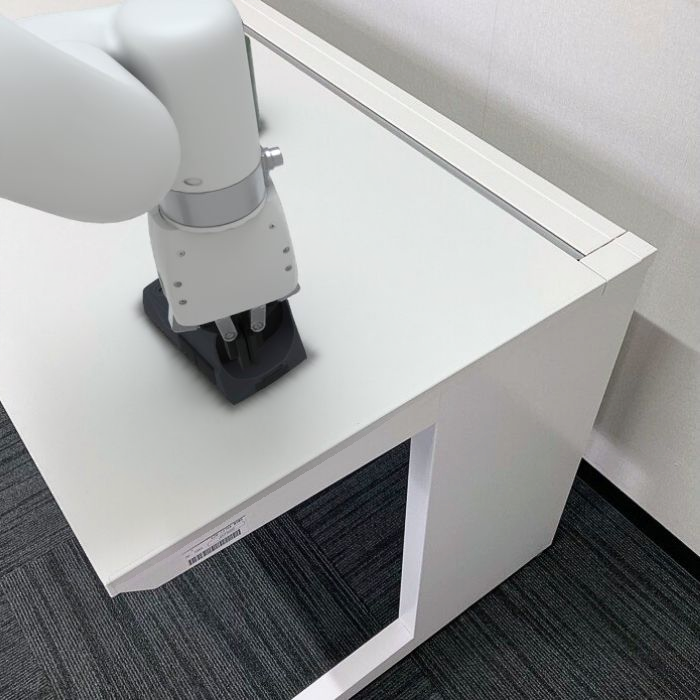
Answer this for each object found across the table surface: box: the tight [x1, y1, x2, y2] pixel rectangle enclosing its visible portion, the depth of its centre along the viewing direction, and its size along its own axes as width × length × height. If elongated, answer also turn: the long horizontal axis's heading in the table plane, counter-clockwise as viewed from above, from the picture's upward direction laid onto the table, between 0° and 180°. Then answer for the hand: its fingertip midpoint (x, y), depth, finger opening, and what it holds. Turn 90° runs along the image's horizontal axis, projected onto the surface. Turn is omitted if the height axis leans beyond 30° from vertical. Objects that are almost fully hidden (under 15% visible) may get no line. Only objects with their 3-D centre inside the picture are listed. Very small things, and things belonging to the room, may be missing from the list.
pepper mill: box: [241, 18, 262, 133], centre depth 97 cm, size 6×6×16 cm
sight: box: [142, 277, 308, 405], centre depth 74 cm, size 9×18×10 cm, turn 41°
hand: (246, 356), depth 66 cm, fingers closed
